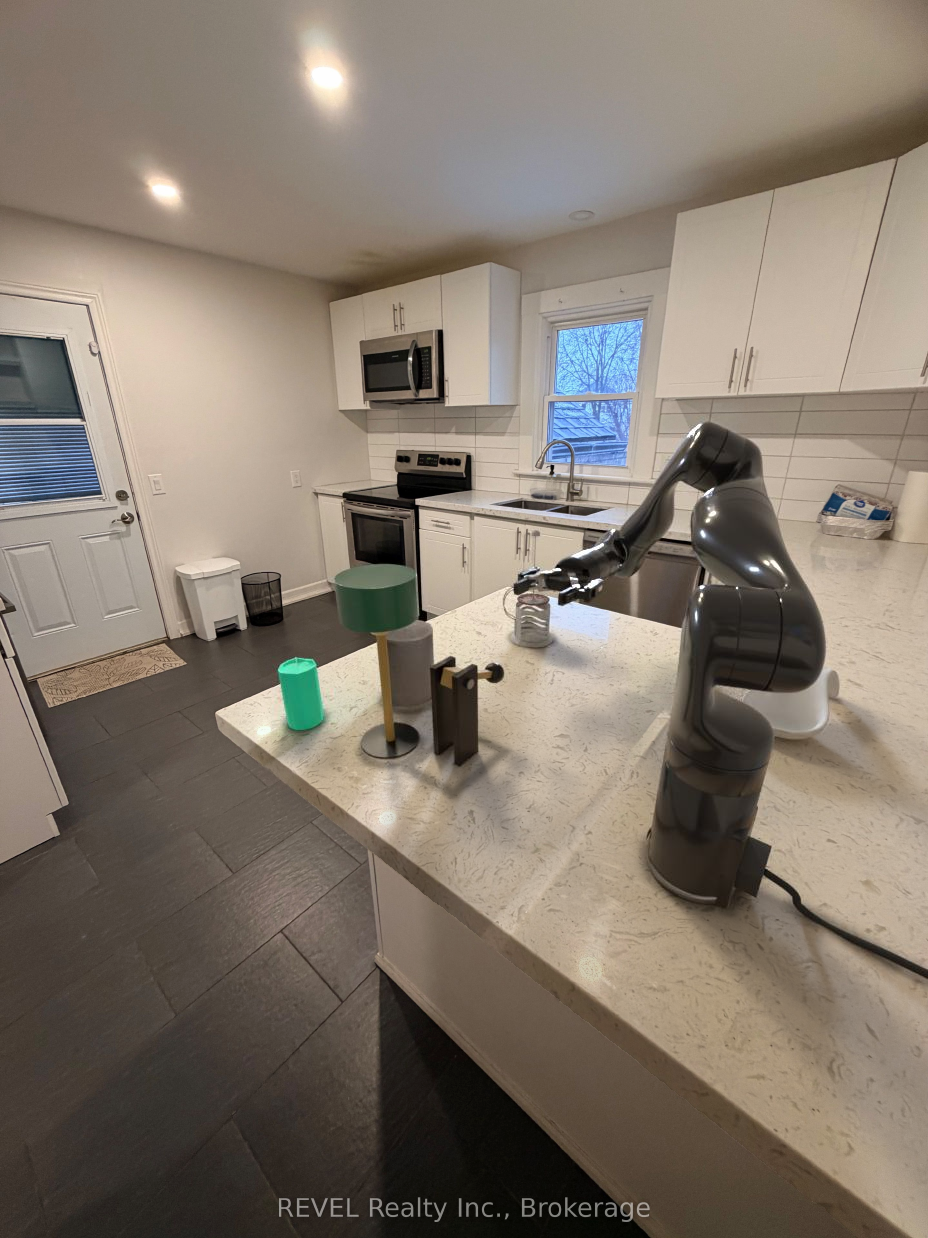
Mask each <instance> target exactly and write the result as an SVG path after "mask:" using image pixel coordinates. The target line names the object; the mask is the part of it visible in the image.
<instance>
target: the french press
mask: <svg viewBox="0 0 928 1238" xmlns="http://www.w3.org/2000/svg"><path fill="white" fill-rule="evenodd" d="M540 536H541V532H540V530H537V529H534V530H532V532H531V537H534V550H536V548H537V546H536V545H537V537H540ZM533 567H536V551H534V555H533ZM515 582H518V577H517V578H516V579H515ZM515 582H514V583H515ZM535 584H536V582H535V583H532V584H531V585H535ZM544 586H545V582H544V579H542V587H544ZM511 592H513V586H512V587H509V588H507V590H506V591H505V593H504V594H503V597H502V607H503V611H504V613H505V615H506V616H507V617H508V618H509V619H511V620H514V628H513V629H514V630H513V631H514V632H513V633H512V634H511V635H510V638H509V639H510V640H511V642H512V643H513V644H516V645H517V646H521V647H525V648H542V647H546V646H549V645H550V644H552V643H553V642H554V637H553V635H551V634H550V620H551V604H550V598H549V596H548V595H546V594H541V593H537V592H535V590H532V592H529V593H527V592H525V593H523V594H521V595H517V597H516V600H517V602H515V615H513V614H511V613H509V612H508V611H507V609H506V606H505V601H506V599H507V597H508V595H509V594H510V593H511ZM524 605H525V606H524ZM522 606H523V607H522ZM535 607H536V608H535ZM537 608H539V609H541V610H539V609H537ZM536 618H537V619H536ZM538 619H539V620H538ZM540 620H541V621H540ZM540 625H541V626H540ZM542 626H543V627H542Z"/></svg>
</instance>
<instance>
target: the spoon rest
mask: <svg viewBox="0 0 928 1238" xmlns="http://www.w3.org/2000/svg"><path fill="white" fill-rule="evenodd" d="M839 694H840V678H839V674H838V672H837V670H834V669H830V668H825V667H823V669H822V672H821V674H820V676H819V678H818V679H817V681H816V682H815V683H814V684H813V685H812V686H810V687H809V688H808V689H806V690H803V691H801V692H796V693H771V692H763V691H755V690H747V692H746V693H744V694H743V696H742V697H741V698H740V699H741V700H740V701H742V702H744V703H746V704H748V705H750V706H751V707H753V708H755V709H756V710H757V711H759V712H760V713H761V714H762V715H763V716H765V717H766V719H767V720H768V721H769V722H770V724H771V726H772V728H773V730H774V736H775V737H777V738H782V739H784V740H785V739H786V740H804V739H808V738H811V737H814V736H815V735H817V734H819V733H820V732H822V731H823V730H824V729H826V727H827V726H828V724H829V721H830V716H831V709H830V698H829V697H832V698H837V697H838V696H839Z"/></svg>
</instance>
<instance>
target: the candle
mask: <svg viewBox="0 0 928 1238" xmlns="http://www.w3.org/2000/svg"><path fill="white" fill-rule="evenodd" d="M277 674H278V679H279V685H280V690H281V696H282V701H283V707H284V711H285V717H286V723H287V724H288V727H289V728H290V729H293V730H295V731H305V730H306V731H307V730H310V729H313V728H315V727H316V728H317V726H319V725H320V724H321V723H322V722H323V720H324V718H325V714H324V707H323V699H322V693H321V686H320V679H319V673H318V665H317V663H316V662H315V659H313V658H304V657H297V656H295V657H294V658H290V659H288V660H286V661H284V662H283V663H280V665H279V666H278V669H277Z"/></svg>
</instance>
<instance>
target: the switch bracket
mask: <svg viewBox="0 0 928 1238" xmlns="http://www.w3.org/2000/svg"><path fill="white" fill-rule="evenodd" d="M456 658H457V657H456V656H453V655H449V656H446V657H445V658H444V659H441V660H440V661H438V662H436V663H434V665H433V666H431V667H430V681H431V699H430V700H431V701H430V702H431V716H432V718H431V719H432V737H433V738H432V740H433V754H434V755H436V756H438V757H440V756H441V755H442V754H444V753H445V752H447V751H448V750H449V749H451V748H452V747H453V757H454V759H453V760H454V761H453V763H454V765H455V766H457V767H459V768H461V767H462V766H463V765H464V764H465V763H467V762H468V761H469V760H470V759H472V758H473V757H474V756H475V755H477V754H478V753H479V679H478V670H479V667H478V665H477V664H475V663H471V664H469V665H467V666H466V667H464V668H461V669H462V670H461V671H459V672H457V673H456V674H454V675H452V689H451V688H448V687H446V686H444V685H441V684H440V683H441V678H442V673H443V669H444V668H447V667H457V662H456V661H457V660H456Z"/></svg>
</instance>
